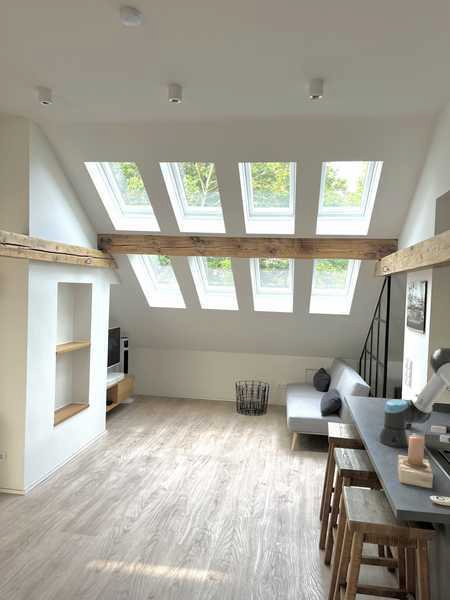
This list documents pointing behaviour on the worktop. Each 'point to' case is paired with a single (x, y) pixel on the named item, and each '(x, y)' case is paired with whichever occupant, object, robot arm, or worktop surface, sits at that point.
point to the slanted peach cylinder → (416, 450)
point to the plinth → (414, 473)
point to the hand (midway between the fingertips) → (435, 433)
